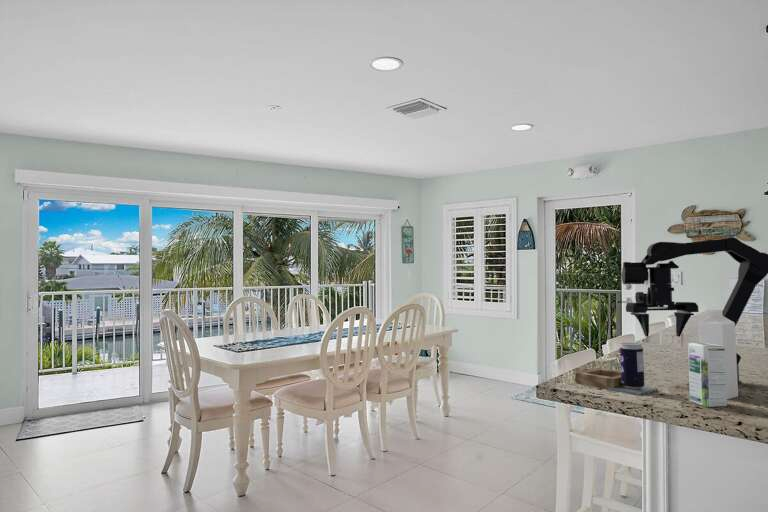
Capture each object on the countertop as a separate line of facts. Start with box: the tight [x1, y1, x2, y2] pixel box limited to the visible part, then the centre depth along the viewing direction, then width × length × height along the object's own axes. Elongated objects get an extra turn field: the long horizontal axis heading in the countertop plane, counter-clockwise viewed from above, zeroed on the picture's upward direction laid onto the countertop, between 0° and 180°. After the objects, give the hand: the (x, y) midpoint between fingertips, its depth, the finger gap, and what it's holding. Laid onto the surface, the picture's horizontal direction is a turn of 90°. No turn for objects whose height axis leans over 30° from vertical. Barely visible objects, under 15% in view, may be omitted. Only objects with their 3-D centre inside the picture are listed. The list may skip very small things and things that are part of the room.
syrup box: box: [687, 342, 728, 408], centre depth 122 cm, size 6×6×14 cm
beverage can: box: [619, 342, 645, 389], centre depth 138 cm, size 6×6×12 cm
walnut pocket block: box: [574, 367, 623, 390], centre depth 146 cm, size 12×12×3 cm
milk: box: [697, 309, 739, 400], centre depth 130 cm, size 6×6×22 cm
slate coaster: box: [607, 385, 658, 396], centre depth 137 cm, size 9×9×1 cm
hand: (662, 336), depth 149 cm, fingers open, 9 cm apart
